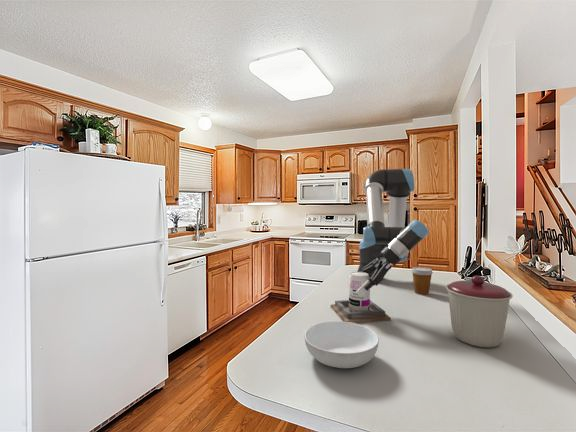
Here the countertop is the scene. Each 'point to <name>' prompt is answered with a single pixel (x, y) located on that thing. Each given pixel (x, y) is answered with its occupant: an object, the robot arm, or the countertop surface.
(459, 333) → the canister
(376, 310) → the jig plate
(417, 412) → the countertop surface
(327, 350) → the serving bowl
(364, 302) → the supplement can
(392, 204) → the robot arm
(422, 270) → the disposable coffee cup
